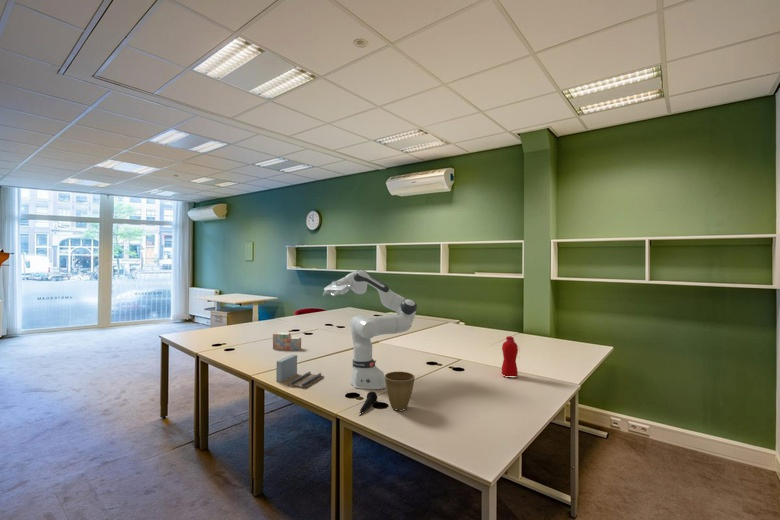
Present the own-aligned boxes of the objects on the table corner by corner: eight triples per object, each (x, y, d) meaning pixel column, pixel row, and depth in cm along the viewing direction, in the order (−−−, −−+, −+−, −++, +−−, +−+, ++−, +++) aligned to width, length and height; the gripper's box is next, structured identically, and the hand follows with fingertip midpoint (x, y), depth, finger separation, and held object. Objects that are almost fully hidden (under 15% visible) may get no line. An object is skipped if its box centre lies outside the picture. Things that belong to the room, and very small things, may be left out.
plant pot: (418, 412, 176) (419, 379, 176) (389, 415, 172) (389, 382, 172) (408, 400, 191) (408, 369, 190) (380, 403, 187) (381, 372, 186)
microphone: (363, 422, 172) (377, 401, 191) (366, 412, 171) (380, 391, 190) (352, 417, 173) (367, 397, 192) (355, 407, 172) (370, 387, 191)
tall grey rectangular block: (297, 373, 231) (297, 354, 230) (281, 382, 216) (281, 361, 215) (292, 373, 232) (292, 354, 232) (276, 381, 217) (276, 361, 217)
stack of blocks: (301, 348, 291) (301, 333, 291) (298, 350, 285) (298, 335, 285) (276, 347, 294) (276, 332, 294) (272, 349, 288) (272, 333, 288)
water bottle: (521, 379, 225) (521, 338, 224) (502, 378, 227) (503, 337, 226) (518, 374, 234) (519, 335, 233) (501, 373, 236) (501, 334, 235)
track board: (323, 377, 224) (323, 373, 224) (305, 388, 205) (305, 384, 205) (306, 375, 228) (306, 371, 228) (287, 385, 209) (287, 381, 209)
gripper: (354, 289, 244) (339, 300, 234) (335, 289, 258) (320, 298, 248) (351, 281, 242) (336, 291, 233) (331, 281, 256) (317, 290, 247)
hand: (327, 295), depth 241 cm, fingers open, 8 cm apart
